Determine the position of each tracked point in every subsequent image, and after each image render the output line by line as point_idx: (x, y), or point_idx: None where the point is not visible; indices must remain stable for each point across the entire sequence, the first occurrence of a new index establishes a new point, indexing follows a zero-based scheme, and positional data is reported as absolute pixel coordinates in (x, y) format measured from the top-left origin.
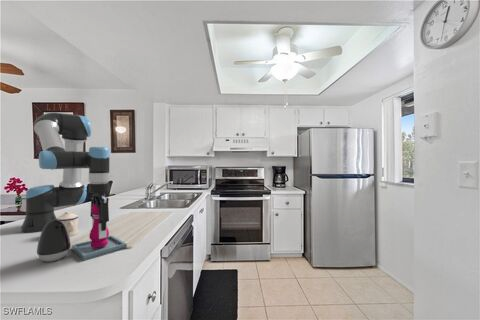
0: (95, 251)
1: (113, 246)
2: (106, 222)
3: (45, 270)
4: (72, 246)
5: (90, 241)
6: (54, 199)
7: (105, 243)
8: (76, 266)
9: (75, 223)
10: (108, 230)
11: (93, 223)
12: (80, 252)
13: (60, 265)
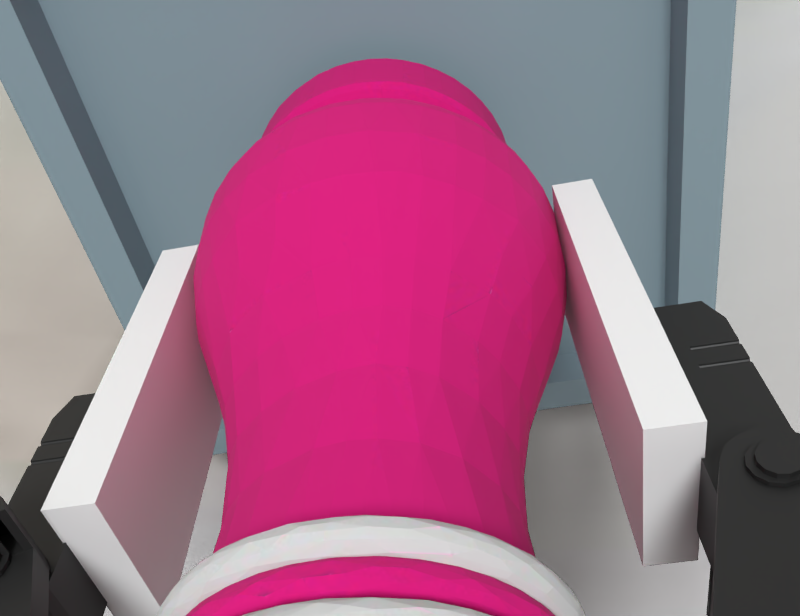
0: (680, 269)
1: (691, 7)
2: (696, 408)
3: (635, 560)
4: (225, 445)
5: (140, 275)
6: None
7: (491, 122)
8: (778, 400)
9: None
10: (418, 155)
11: (190, 525)
12: (558, 403)
13: (618, 491)
